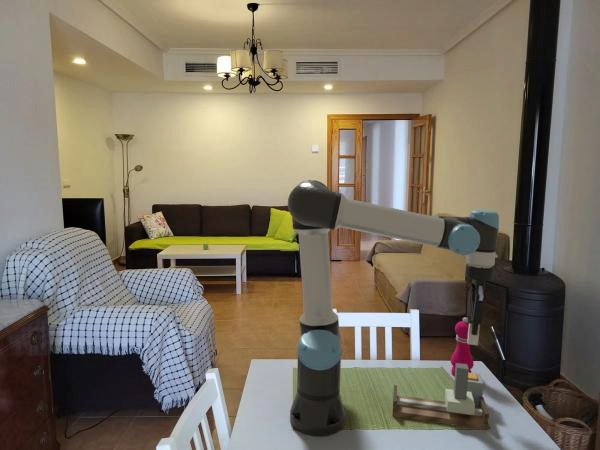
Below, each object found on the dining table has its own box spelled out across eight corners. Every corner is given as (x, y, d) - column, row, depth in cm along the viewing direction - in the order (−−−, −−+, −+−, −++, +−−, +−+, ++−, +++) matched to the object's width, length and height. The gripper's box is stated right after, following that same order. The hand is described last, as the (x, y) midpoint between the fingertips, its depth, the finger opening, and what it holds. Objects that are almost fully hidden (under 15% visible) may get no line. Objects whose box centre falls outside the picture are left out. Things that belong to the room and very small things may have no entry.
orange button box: (459, 406, 129) (461, 380, 128) (457, 396, 135) (458, 371, 133) (481, 409, 127) (483, 383, 126) (477, 398, 133) (480, 373, 132)
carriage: (447, 411, 121) (450, 370, 119) (444, 398, 127) (447, 359, 126) (474, 415, 119) (477, 373, 117) (470, 401, 126) (473, 362, 124)
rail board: (392, 415, 123) (393, 400, 123) (393, 399, 132) (393, 385, 131) (487, 429, 118) (489, 414, 117) (481, 411, 126) (483, 396, 126)
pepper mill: (474, 380, 144) (479, 322, 141) (451, 378, 146) (455, 320, 143) (470, 370, 151) (475, 314, 148) (448, 368, 153) (452, 312, 150)
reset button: (464, 396, 130) (466, 377, 129) (463, 391, 132) (465, 372, 132) (475, 398, 129) (477, 378, 128) (474, 392, 132) (475, 374, 131)
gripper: (499, 271, 118) (490, 354, 121) (489, 261, 130) (482, 336, 134) (469, 269, 119) (461, 351, 123) (463, 258, 132) (456, 333, 135)
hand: (472, 343), depth 128 cm, fingers closed
